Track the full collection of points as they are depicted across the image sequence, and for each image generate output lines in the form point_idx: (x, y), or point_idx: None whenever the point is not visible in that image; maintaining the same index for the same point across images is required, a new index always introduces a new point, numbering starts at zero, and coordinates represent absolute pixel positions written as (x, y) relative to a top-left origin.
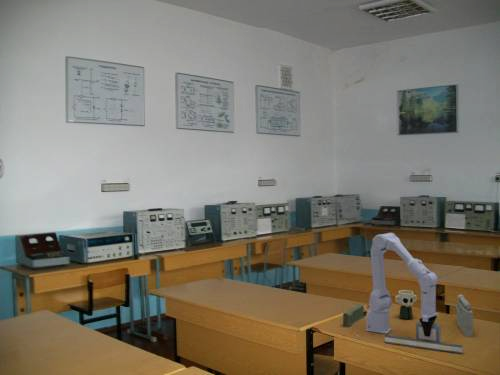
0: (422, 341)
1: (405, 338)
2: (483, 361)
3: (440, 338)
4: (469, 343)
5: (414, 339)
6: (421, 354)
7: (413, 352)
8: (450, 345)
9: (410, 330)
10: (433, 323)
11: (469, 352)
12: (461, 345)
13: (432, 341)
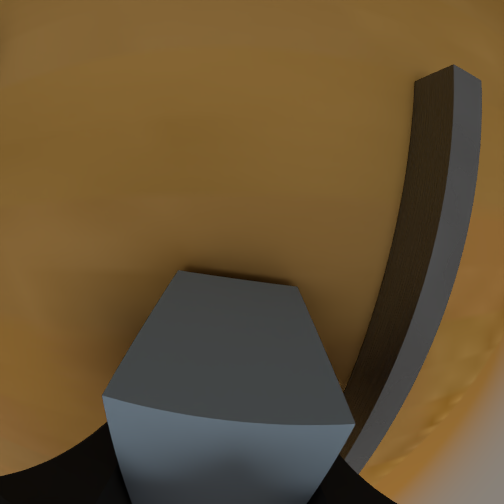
0: (389, 419)
1: None
2: (492, 16)
3: (178, 280)
4: (120, 15)
5: (360, 463)
6: (469, 365)
7: (439, 405)
8: (471, 185)
9: (30, 421)
10: (141, 478)
11: (380, 27)
12: (461, 77)
13: (405, 359)
